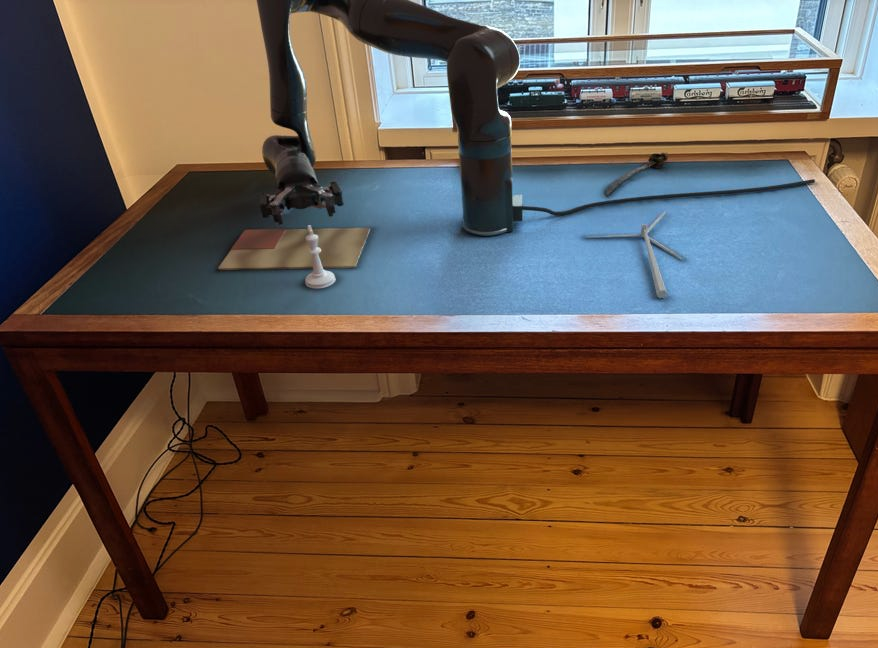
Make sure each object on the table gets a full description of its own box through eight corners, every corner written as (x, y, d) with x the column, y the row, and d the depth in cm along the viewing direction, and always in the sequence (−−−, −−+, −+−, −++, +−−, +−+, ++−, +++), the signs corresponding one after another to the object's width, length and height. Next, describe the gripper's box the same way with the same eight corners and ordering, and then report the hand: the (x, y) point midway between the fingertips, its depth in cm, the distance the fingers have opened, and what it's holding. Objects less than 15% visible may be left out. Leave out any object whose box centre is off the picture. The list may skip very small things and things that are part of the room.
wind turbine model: (696, 300, 110) (666, 212, 134) (697, 287, 108) (667, 200, 132) (592, 303, 111) (581, 215, 135) (593, 290, 110) (581, 204, 133)
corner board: (370, 229, 135) (370, 226, 135) (355, 267, 123) (355, 265, 122) (245, 232, 136) (245, 229, 136) (218, 270, 124) (217, 267, 124)
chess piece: (310, 291, 117) (298, 235, 111) (301, 279, 120) (289, 223, 114) (339, 283, 118) (329, 227, 113) (330, 271, 122) (319, 216, 116)
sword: (608, 197, 141) (609, 187, 140) (593, 193, 144) (594, 183, 142) (675, 160, 156) (676, 151, 154) (661, 157, 158) (662, 147, 157)
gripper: (253, 168, 132) (257, 201, 119) (331, 156, 135) (343, 188, 122) (262, 206, 136) (267, 242, 124) (337, 194, 139) (350, 228, 127)
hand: (305, 215), depth 123 cm, fingers open, 8 cm apart
